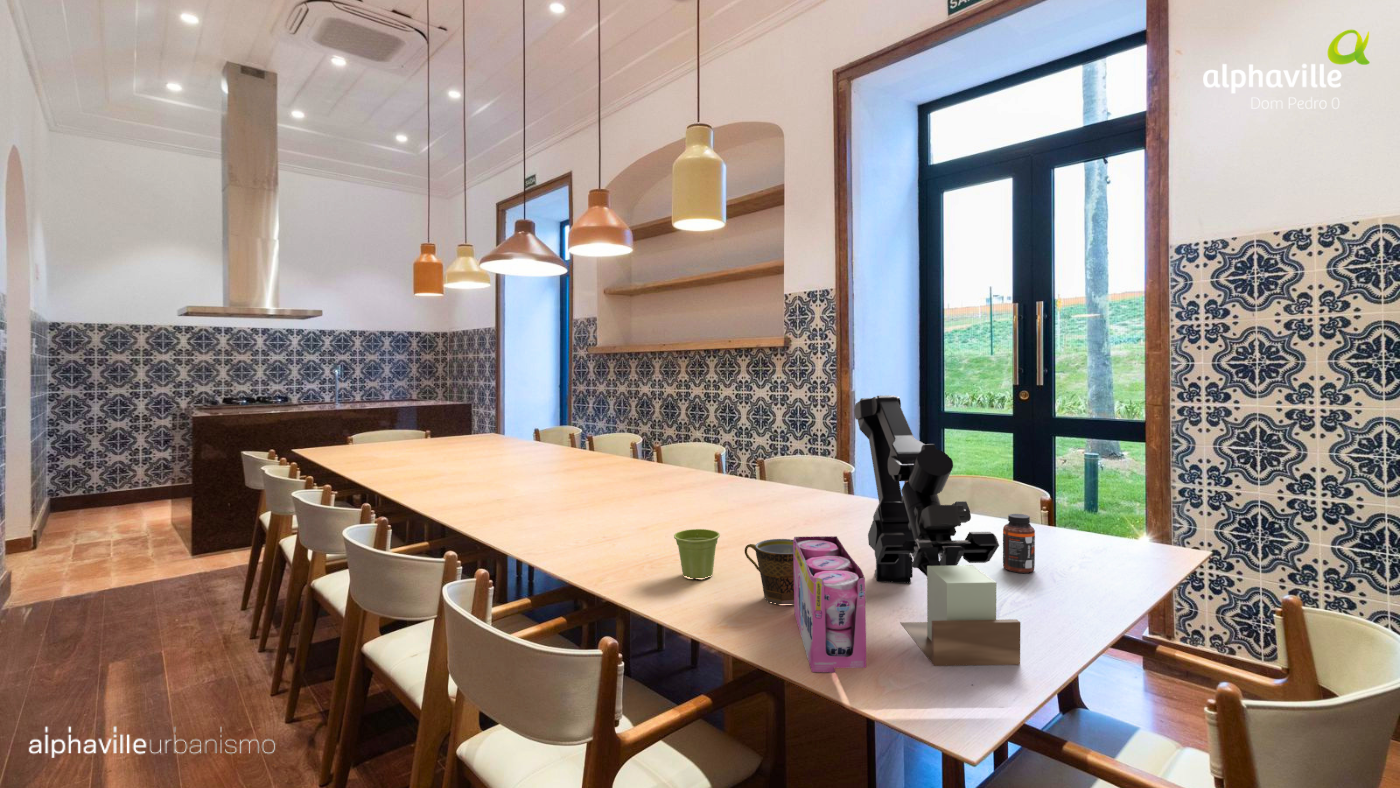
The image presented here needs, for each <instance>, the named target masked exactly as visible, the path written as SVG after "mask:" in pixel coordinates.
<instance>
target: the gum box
mask: <svg viewBox="0 0 1400 788" xmlns="http://www.w3.org/2000/svg"><path fill="white" fill-rule="evenodd" d="M792 540H793V560H794V605H793V607H794V609H793V610H794V616H795V620H797V621H796V624H797V626H798V630H800V631H799V634H800V636H801V640H802V644H803V647H804V650H805V655H806V659H807V661H808V664H809V666H810V670H811V672H812V673H831V674H832V673H833V674H834V673H836V674H837V671H836V670H835V668H838V669H844V668H845V669H846V668H847V669H848V668H849V669H852V668H853V669H855V668H867V627H866V626H867V621H866V620H867V619H866V618H867V617H866V616H867V614H866V577H865V575H864V572H863V570H862V569H861V567H860V566H859V565H858V564H857V562H855V560H854V559H853V558H852V557H851V555H850V554H849V552H848V551H847V549H846V548H845V547H844V546H843V544H842V542H841V540H840V539H839V538H838V536H835V535H834V536H831V535H830V536H828V535H827V536H821V535H820V536H794V537H793V539H792Z"/></svg>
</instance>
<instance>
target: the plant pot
mask: <svg viewBox="0 0 1400 788" xmlns="http://www.w3.org/2000/svg"><path fill="white" fill-rule="evenodd" d="M720 536H721V535H720V533H719V532H718V531H716V530H714V529H713V530H712V529H706V528H693V529H692V528H691V529H685V530H680V531H677V532H675V533H674V534H673V538H674V540H675V541H676V545H677V547H678V553H679V559H680V567H681V570H682V571H681V572H682V576H683V575H684V576H687V577H690V578H705V577H708V576H711V575H712V576H713V574H714V566H715V565H714V564H715V555H716V548H717V544H718V539H719V538H720ZM712 576H711V577H712Z"/></svg>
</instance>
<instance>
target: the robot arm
mask: <svg viewBox="0 0 1400 788" xmlns="http://www.w3.org/2000/svg"><path fill="white" fill-rule="evenodd" d="M900 398H901V397H900V396H896V395H892V394H891V395H886V394H885V395H876V396H873V397H872V398H871V397H869V398H868V397H867V398H866V397H864V398H860V400H859V401H857V402H856V403H855V404H854V408H853V409H854V410H853V411H854V417H855V420H857V422H858V428H859V430H860V432H861V433H862V434H863V435H864V436H865V437H866V438H867V439H868V441H869V443H868V444H869V449H870V454H871V459H872V460H871V461H872V467H873V473H874V480H875V485H876V492H877V496H878V497H877V498H878V505H877V507H876V510H875V511H874V513H873V516H872V519H873V520H872V521H871V522H872V523H871V525H870V528H869V531H868V532H867V538H868V539H867V540H868V546H869V547H870V548H871V549H872V550H873V551H874V557H875V570H874V574H875V579H876V582H878V583H879V582H880V583H895V584H896V583H897V584H898V583H899V584H911V583H912V578H913V568H914V569H918V570H919V571H920V572H922V573H923V575H925V576H926V577H927V566H955V565H959V563H960V561H961V560H962V558H963V560H965V562H967V563H968V564H983V563H984V564H985V563H988V562H990V561H991V559H992V557H993V556H994V554H995V553H996V551H997V550H998V548H999V546H1000V543H999V541H998V537H997V536H996V535H995V534H994V533H993V532H991V531H969V532H968V534H967V535H966V537H965V539H963V540H962V539H961V540H960V539H959V540H958V539H957V540H956V539H955V540H952V537H954V536H955V535H956V533H957V530H956V528H957V527H961V526H962V524H966V523H967V522H970V520H971V519H972V515H971V509H970V508H969V507H970V506H969V504H968V502H967V501H966V500H963V501H960V500H959V501H955V502H954V503H952V504H944V505H943V504H941V502H940V499H939V496H938V495H939V494H940V493H942V492H943V490H944V489H945V486H946V483H947V481H948V479H949V477H950V474H951V473H952V471H953V469H954V468H953V467H954V462H953V459H952V457H951V456H949V455H948V454H947V453H946V452H945V451H943V450H940V449H937V447H936V445H935V443H927V444H925V443H923V442H922V441H920V440H918V439H916V438H915V436H914V434H913V432H912V429H911V428H910V425H909V423H908V421H907V418H906V416H905V414H904V411H903V409H902V402H901V399H900ZM900 482H904V484H903V485H902V487H901V483H900Z"/></svg>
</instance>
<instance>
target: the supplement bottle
mask: <svg viewBox="0 0 1400 788" xmlns="http://www.w3.org/2000/svg"><path fill="white" fill-rule="evenodd" d="M1007 518H1008V519H1007V522H1008V523H1006V524H1005V525H1004V526H1003V528H1002V567H1003V568H1004V569H1005V570H1007V571H1008V572H1009V571H1010V572H1013V573H1021V574H1029V572H1030V573H1032V572H1034V571H1035V567H1036V565H1035V564H1036V560H1035V557H1036V556H1035V555H1036V553H1035V552H1036V546H1035V545H1036V533H1035V532H1036V530H1035V529H1034V527H1033V526H1032V525H1031V517H1030V516H1029V515H1027V514H1022V513H1009V514H1008V515H1007Z"/></svg>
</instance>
